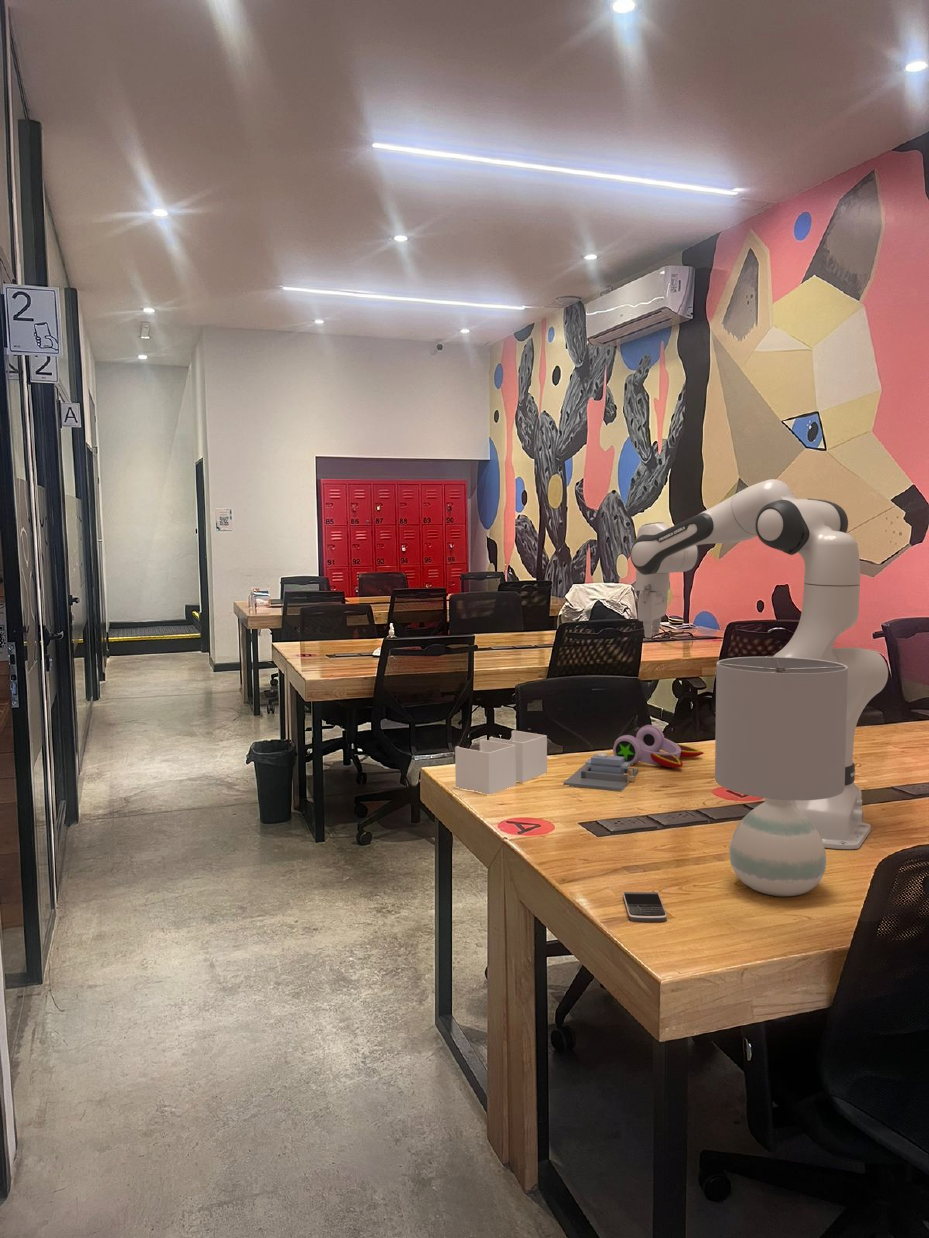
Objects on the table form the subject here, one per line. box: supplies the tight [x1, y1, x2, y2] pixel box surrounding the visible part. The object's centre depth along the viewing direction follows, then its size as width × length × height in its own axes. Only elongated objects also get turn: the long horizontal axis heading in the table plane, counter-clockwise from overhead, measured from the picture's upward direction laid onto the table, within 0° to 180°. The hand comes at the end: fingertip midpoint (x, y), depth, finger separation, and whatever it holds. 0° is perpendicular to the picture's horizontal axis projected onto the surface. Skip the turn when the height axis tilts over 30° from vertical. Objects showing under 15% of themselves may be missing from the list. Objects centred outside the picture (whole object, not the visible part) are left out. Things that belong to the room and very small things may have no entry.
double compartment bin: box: [454, 729, 548, 794], centre depth 229 cm, size 25×11×11 cm, turn 140°
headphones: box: [612, 724, 705, 769], centre depth 249 cm, size 20×10×20 cm
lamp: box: [714, 656, 848, 897], centre depth 155 cm, size 22×22×40 cm
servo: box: [584, 752, 636, 783], centre depth 230 cm, size 4×12×7 cm, turn 67°
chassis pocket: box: [563, 764, 640, 792], centre depth 231 cm, size 20×15×2 cm
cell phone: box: [622, 891, 667, 923], centre depth 149 cm, size 6×11×1 cm, turn 176°
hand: (652, 635), depth 235 cm, fingers open, 8 cm apart
